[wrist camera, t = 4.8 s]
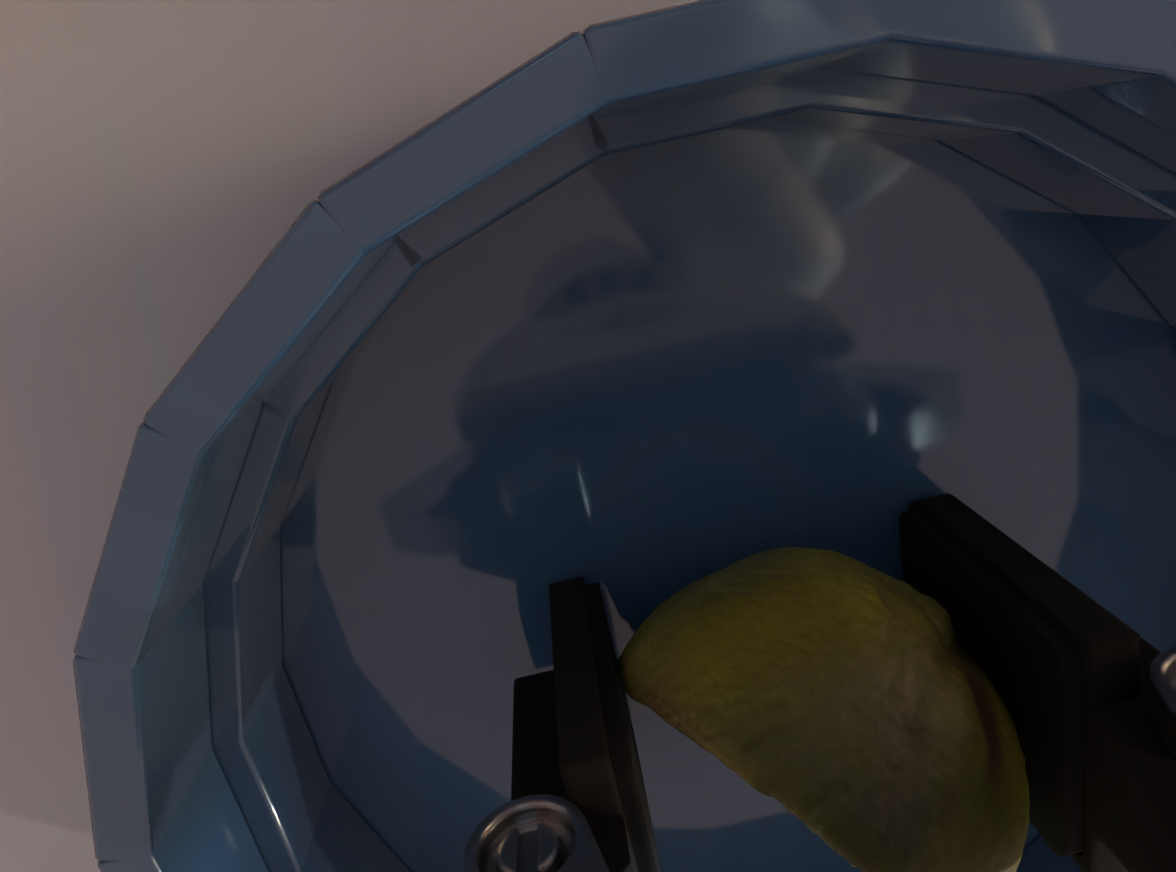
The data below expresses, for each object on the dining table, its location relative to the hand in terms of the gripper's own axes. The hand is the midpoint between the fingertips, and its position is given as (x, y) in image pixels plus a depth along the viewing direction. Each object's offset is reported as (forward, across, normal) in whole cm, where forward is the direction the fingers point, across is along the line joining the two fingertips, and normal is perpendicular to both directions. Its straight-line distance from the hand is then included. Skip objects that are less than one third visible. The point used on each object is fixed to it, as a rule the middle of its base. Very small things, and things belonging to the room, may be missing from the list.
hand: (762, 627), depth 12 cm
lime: (0, 0, 0) cm, 0 cm away
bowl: (+1, 0, 0) cm, 1 cm away
